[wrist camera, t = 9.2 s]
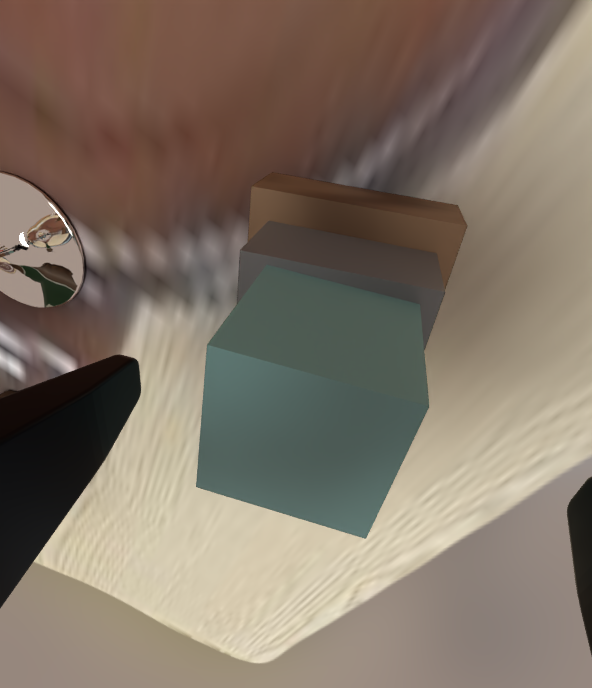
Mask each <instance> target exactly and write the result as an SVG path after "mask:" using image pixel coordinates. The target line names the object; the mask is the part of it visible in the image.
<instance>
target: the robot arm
mask: <svg viewBox="0 0 592 688" xmlns="http://www.w3.org/2000/svg"><path fill="white" fill-rule="evenodd" d="M140 394H141V382H140V371H139V363H138V361H137V360H136V359H135V358H132V357H128V356H124V355H114V356H111V357H109V358H106V359H103V360H101V361H98V362H95V363H93V364H90V365H87V366H85V367H82V368H79V369H76V370H74V371H71V372H68V373H66V374H63V375H60V376H58V377H55V378H52V379H50V380H47V381H44V382H42V383H39V384H36V385H34V386H31V387H28V388H26V389H23V390H20V391H18V392H15V393H12V394H10V395H7V396H4V397H2V398H0V608H1V607H2V605H3V604H4V602H5V601H6V599H7V598H8V597H9V595H10V594H11V593H12V591H13V590H14V588H15V587H16V585H17V584H18V583H19V581H20V580H21V578H22V577H23V575H24V574H25V573H26V571H27V570H28V568H29V567H30V566H31V564H32V563H33V561H34V560H35V559H36V557H37V556H38V554H39V553H40V552H41V550H42V549H43V547H44V546H45V544H46V543H47V542H48V540H49V539H50V537H51V536H52V535H53V533H54V532H55V530H56V529H57V527H58V526H59V525H60V523H61V522H62V520H63V519H64V518H65V516H66V515H67V513H68V512H69V510H70V509H71V508H72V506H73V505H74V503H75V502H76V501H77V499H78V498H79V496H80V495H81V494H82V492H83V491H84V489H85V488H86V486H87V485H88V484H89V482H90V481H91V479H92V478H93V477H94V475H95V474H96V472H97V471H98V469H99V468H100V466H101V465H102V463H103V462H104V460H105V459H106V457H107V455H108V454H109V452H110V450H111V449H112V447H113V445H114V443H115V441H116V440H117V438H118V436H119V434H120V432H121V430H122V429H123V427H124V425H125V423H126V421H127V420H128V418H129V416H130V414H131V412H132V411H133V409H134V407H135V405H136V403H137V402H138V400H139V397H140ZM567 518H568V526H569V534H570V542H571V550H572V557H573V565H574V573H575V581H576V587H577V594H578V598H579V604H580V608H581V613H582V617H583V621H584V626H585V630H586V634H587V638H588V642H589V646H590V651H591V655H592V477H590V478H588V479H587V481H586V482H585V483H584V484H583V486H582V487H581V488H580V490H579V491H578V492H577V493H576V494H575V495H574V497H573V498H572V499H571V501H570V502H569V505H568V508H567Z"/></svg>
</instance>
